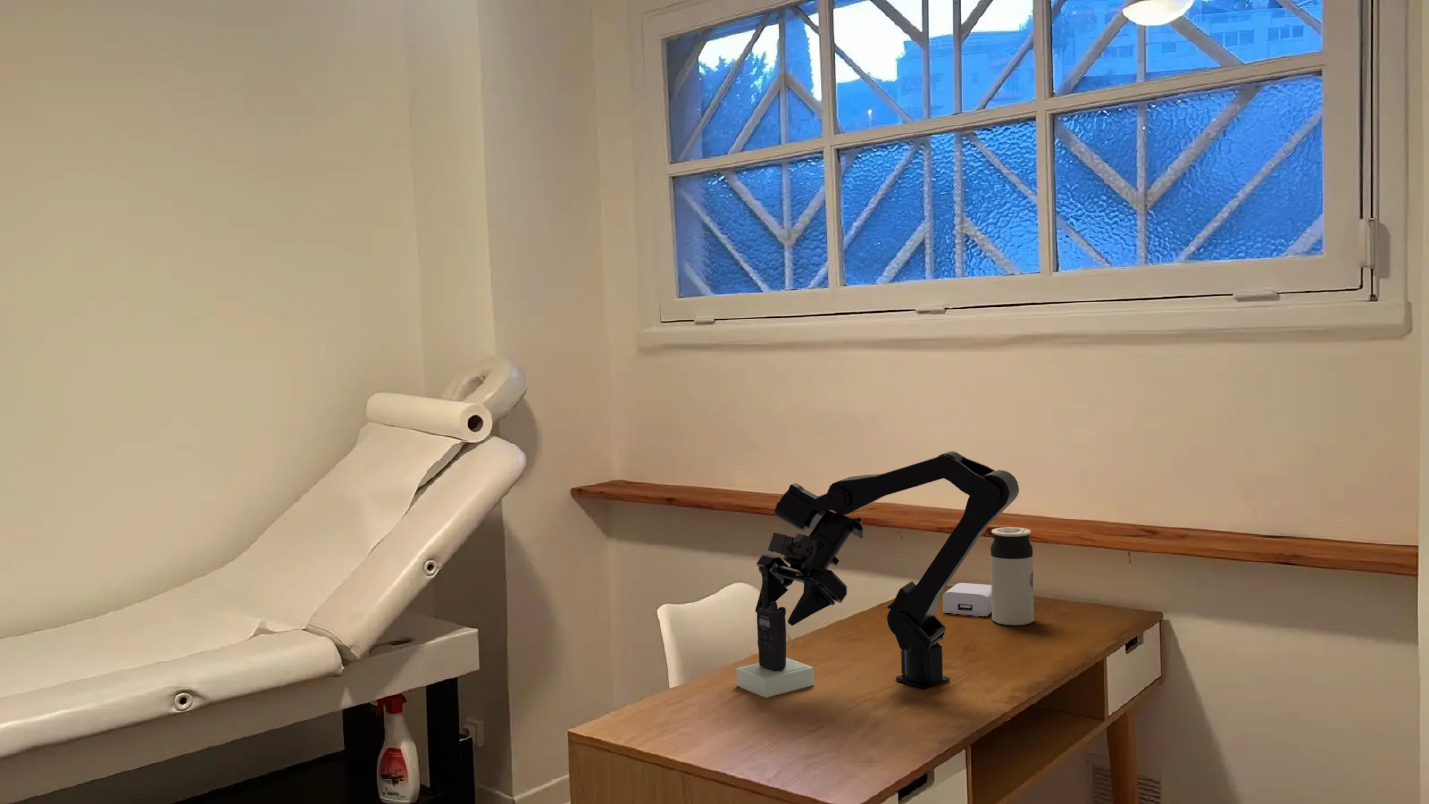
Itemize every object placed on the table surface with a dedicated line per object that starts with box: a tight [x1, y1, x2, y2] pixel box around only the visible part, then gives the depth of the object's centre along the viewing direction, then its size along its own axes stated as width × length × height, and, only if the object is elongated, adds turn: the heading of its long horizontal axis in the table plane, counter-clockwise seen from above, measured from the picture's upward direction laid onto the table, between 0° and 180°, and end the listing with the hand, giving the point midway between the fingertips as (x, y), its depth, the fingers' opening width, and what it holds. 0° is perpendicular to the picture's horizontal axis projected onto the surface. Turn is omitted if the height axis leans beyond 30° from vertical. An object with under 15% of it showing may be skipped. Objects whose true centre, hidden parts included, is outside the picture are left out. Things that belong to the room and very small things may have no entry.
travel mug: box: [990, 526, 1035, 627], centre depth 227 cm, size 8×8×18 cm
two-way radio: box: [756, 577, 787, 671], centre depth 192 cm, size 6×4×15 cm
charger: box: [942, 582, 992, 617], centre depth 240 cm, size 5×9×15 cm
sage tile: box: [735, 657, 815, 698], centre depth 193 cm, size 8×10×3 cm
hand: (773, 618), depth 192 cm, fingers open, 9 cm apart
